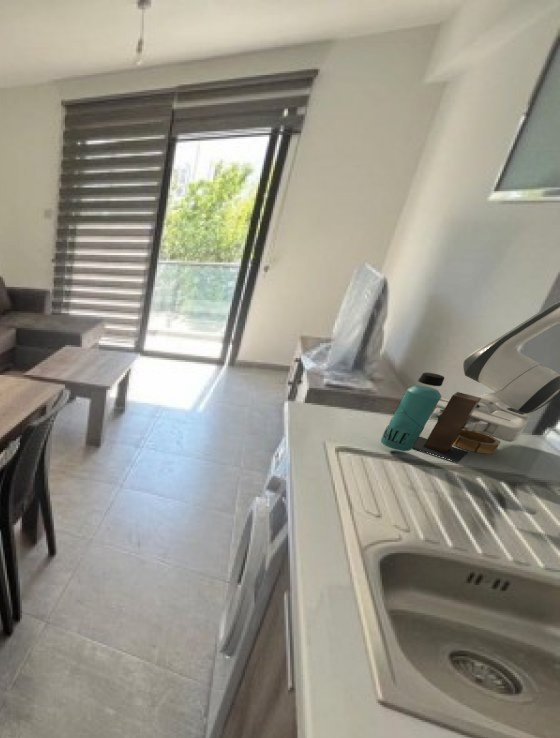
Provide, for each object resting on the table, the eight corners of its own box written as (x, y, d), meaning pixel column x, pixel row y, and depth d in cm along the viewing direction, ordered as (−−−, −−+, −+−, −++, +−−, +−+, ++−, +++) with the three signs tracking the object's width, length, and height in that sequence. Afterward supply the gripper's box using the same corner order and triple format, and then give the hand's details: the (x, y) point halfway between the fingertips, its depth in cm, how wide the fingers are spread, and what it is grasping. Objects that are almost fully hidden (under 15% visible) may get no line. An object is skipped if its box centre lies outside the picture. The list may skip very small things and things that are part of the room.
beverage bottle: (407, 449, 120) (449, 373, 111) (411, 459, 115) (456, 381, 106) (375, 441, 123) (413, 367, 114) (378, 451, 118) (418, 375, 109)
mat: (467, 453, 120) (468, 451, 120) (456, 463, 115) (457, 462, 114) (417, 437, 127) (418, 436, 127) (405, 446, 122) (406, 445, 121)
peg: (450, 449, 120) (481, 397, 114) (445, 453, 118) (477, 401, 111) (428, 442, 123) (457, 391, 117) (422, 446, 121) (452, 395, 114)
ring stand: (498, 447, 123) (503, 439, 122) (489, 457, 118) (495, 448, 117) (450, 433, 130) (455, 425, 129) (440, 441, 125) (446, 433, 124)
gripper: (435, 387, 129) (407, 394, 123) (539, 418, 113) (513, 426, 107) (423, 409, 132) (396, 416, 126) (523, 441, 116) (497, 451, 110)
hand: (451, 421), depth 117 cm, fingers closed on peg, 5 cm apart
